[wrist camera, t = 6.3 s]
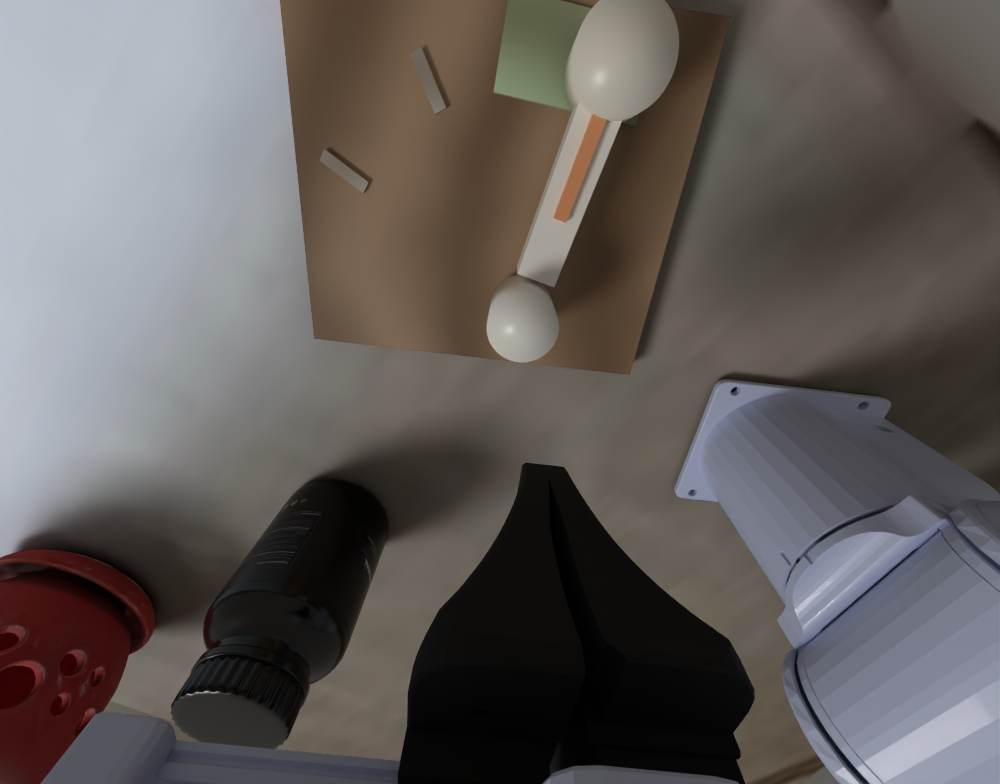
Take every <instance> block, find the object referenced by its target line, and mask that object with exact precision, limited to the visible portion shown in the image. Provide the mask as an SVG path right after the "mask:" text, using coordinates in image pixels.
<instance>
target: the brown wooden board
mask: <svg viewBox="0 0 1000 784" xmlns="http://www.w3.org/2000/svg"><path fill="white" fill-rule="evenodd" d="M598 1H599V0H280V5H281V15H282V25H283V35H284V45H285V55H286V65H287V74H288V84H289V94H290V104H291V114H292V124H293V134H294V143H295V153H296V163H297V173H298V183H299V193H300V202H301V212H302V222H303V232H304V242H305V252H306V262H307V271H308V281H309V291H310V301H311V311H312V321H313V330H314V339H323V340H331V341H340V342H349V343H357V344H366V345H375V346H384V347H392V348H401V349H410V350H418V351H427V352H436V353H444V354H453V355H462V356H471V357H479V358H488V359H497V360H505V361H511V360H508V359H506V358H504V357H502V356H501V355H499V354H498V353H497V352H496V351H495V350H494V348H493V347H492V346H491V344H490V342H489V339H488V336H487V319H488V314H489V309H490V304H491V299H492V295H493V293H494V291H495V289H496V288H497V286H498V285H499V284H500V283H501V282H502V281H504V280H505V279H507V278H509V277H512V276H515V275H519V274H517V264H518V261H519V259H520V256H521V253H522V250H523V247H524V245H525V242H526V239H527V236H528V233H529V231H530V228H531V225H532V222H533V219H534V217H535V214H536V211H537V208H538V205H539V203H540V200H541V197H542V194H543V191H544V189H545V186H546V183H547V180H548V177H549V175H550V172H551V169H552V166H553V163H554V161H555V158H556V155H557V152H558V149H559V147H560V144H561V141H562V138H563V135H564V133H565V130H566V127H567V124H568V121H569V119H570V116H571V113H572V110H571V108H570V106H569V104H568V101H567V98H566V95H565V89H564V71H565V65H566V62H567V58H568V56H569V53H570V51H571V48H572V46H573V44H574V41H575V39H576V36H577V34H578V32H579V29H580V27H581V25H582V23H583V21H584V19H585V17H586V16H587V14H588V13H589V11H590V10H591V9H592V8H593V6H594V5H595V4H596V3H597V2H598ZM671 10H672V12H673V14H674V17H675V19H676V23H677V27H678V33H679V52H678V59H677V63H676V67H675V70H674V73H673V75H672V78H671V80H670V82H669V84H668V85H667V87H666V88H665V90H664V92H663V93H662V94H661V95H660V97H659V98H658V99H657V100H656V101H655V102H654V103H653V104H652V105H651V106H649V107H648V108H647V109H645V110H644V111H642V112H640V113H639V114H637V115H635V116H633V117H632V118H630V119H628V120H626V121H625V122H623V123H621V125H620V127H619V129H618V132H617V134H616V137H615V139H614V142H613V144H612V147H611V149H610V152H609V154H608V156H607V159H606V161H605V164H604V166H603V169H602V171H601V174H600V176H599V179H598V181H597V183H596V186H595V188H594V191H593V193H592V196H591V198H590V201H589V203H588V206H587V208H586V210H585V213H584V215H583V218H582V220H581V223H580V225H579V228H578V230H577V232H576V235H575V237H574V240H573V242H572V245H571V247H570V250H569V252H568V255H567V257H566V259H565V262H564V264H563V267H562V269H561V272H560V274H559V277H558V279H557V282H556V284H555V286H554V287H552V286H549V285H546V284H544V283H543V284H544V285H545V286H546V288H547V289H548V291H549V294H550V296H551V299H552V302H553V305H554V308H555V311H556V314H557V317H558V321H559V333H558V337H557V340H556V342H555V344H554V345H553V347H552V348H551V349H550V351H549V352H548V353H546V354H545V355H544V356H542V357H541V358H539V359H537V360H534V361H530V362H523V363H531V364H540V365H549V366H558V367H566V368H575V369H584V370H592V371H601V372H610V373H618V374H627V375H630V372H631V369H632V365H633V362H634V358H635V355H636V351H637V348H638V344H639V341H640V337H641V334H642V330H643V326H644V323H645V319H646V316H647V312H648V309H649V305H650V302H651V298H652V295H653V291H654V288H655V284H656V281H657V277H658V274H659V270H660V266H661V263H662V259H663V256H664V252H665V249H666V245H667V242H668V238H669V235H670V231H671V228H672V224H673V221H674V217H675V213H676V210H677V206H678V203H679V199H680V196H681V192H682V189H683V185H684V182H685V178H686V175H687V171H688V168H689V164H690V160H691V157H692V153H693V150H694V146H695V143H696V139H697V136H698V132H699V129H700V125H701V122H702V118H703V115H704V111H705V108H706V104H707V100H708V97H709V93H710V90H711V86H712V83H713V79H714V76H715V72H716V69H717V65H718V62H719V58H720V55H721V51H722V47H723V44H724V40H725V37H726V33H727V30H728V26H729V23H730V19H731V17H730V16H723V15H716V14H709V13H701V12H694V11H687V10H680V9H672V8H671Z"/></svg>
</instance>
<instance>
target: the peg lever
mask: <svg viewBox="0 0 1000 784" xmlns="http://www.w3.org/2000/svg"><path fill="white" fill-rule="evenodd" d="M678 52H679V33H678V27H677V23H676V19H675V17H674V14H673V12H672V10H671V8H670V7H669V5H668V4H667V2H666V1H665V0H599V1H598V2H597V3H596V4H595V5H594V6H593V8H592V9H591V10H590V11H589V13H588V14H587V16H586V17H585V19H584V21H583V23H582V25H581V27H580V29H579V32H578V34H577V36H576V39H575V41H574V44H573V46H572V48H571V51H570V53H569V56H568V58H567V62H566V65H565V71H564V89H565V95H566V98H567V101H568V104H569V106H570V108H571V110H572V113H571V116H570V119H569V121H568V124H567V127H566V130H565V133H564V135H563V138H562V141H561V144H560V147H559V149H558V152H557V155H556V158H555V161H554V163H553V166H552V169H551V172H550V175H549V177H548V180H547V183H546V186H545V189H544V191H543V194H542V197H541V200H540V203H539V205H538V208H537V211H536V214H535V217H534V219H533V222H532V225H531V228H530V231H529V233H528V236H527V239H526V242H525V245H524V247H523V250H522V253H521V256H520V259H519V261H518V264H517V274H519V275H515V276H512V277H509V278H507V279H505V280H504V281H502V282H501V283H500V284H499V285H498V286H497V288H496V289H495V291H494V293H493V295H492V299H491V304H490V309H489V314H488V319H487V336H488V339H489V342H490V344H491V346H492V347H493V348H494V350H495V351H496V352H497V353H498V354H499V355H501V356H502V357H504V358H506V359H508V360H511V361H514V362H530V361H534V360H537V359H539V358H541V357H542V356H544V355H545V354H546V353H548V352H549V351H550V349H551V348H552V347H553V345H554V344H555V342H556V340H557V337H558V333H559V321H558V317H557V314H556V311H555V308H554V305H553V302H552V299H551V296H550V294H549V291H548V289H547V288H546V286H545V285H544V284H546V285H549V286H552V287H554V286H555V284H556V282H557V279H558V277H559V274H560V272H561V269H562V267H563V264H564V262H565V259H566V257H567V255H568V252H569V250H570V247H571V245H572V242H573V240H574V237H575V235H576V232H577V230H578V228H579V225H580V223H581V220H582V218H583V215H584V213H585V210H586V208H587V206H588V203H589V201H590V198H591V196H592V193H593V191H594V188H595V186H596V183H597V181H598V179H599V176H600V174H601V171H602V169H603V166H604V164H605V161H606V159H607V156H608V154H609V152H610V149H611V147H612V144H613V142H614V139H615V137H616V134H617V132H618V129H619V127H620V125H621V123H623V122H625V121H626V120H628V119H630V118H632V117H633V116H635V115H637V114H639V113H640V112H642V111H644V110H645V109H647V108H648V107H649V106H651V105H652V104H653V103H654V102H655V101H656V100H657V99H658V98H659V97H660V95H661V94H662V93H663V92H664V90H665V88H666V87H667V85H668V84H669V82H670V80H671V78H672V75H673V73H674V70H675V67H676V63H677V59H678ZM543 283H544V284H543Z"/></svg>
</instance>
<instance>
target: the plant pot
mask: <svg viewBox="0 0 1000 784" xmlns="http://www.w3.org/2000/svg"><path fill="white" fill-rule="evenodd" d="M140 587H141V585H140V584H139V583H138V582H136V581H133V580H132V579H130V578H129V577H128V576H126V575H125V574H123V573H122V572H120V571H118V570H117V569H115V568H113V567H112V566H110V565H108V564H106V563H103V562H101V561H99V560H96V559H93V558H91V557H88V556H84V555H81V554H77V553H72V552H67V551H61V550H50V549H39V550H27V551H20V552H16V553H12V554H9V555H6V556H3V557H1V558H0V784H41V782H42V781H43V780H44V779H45V777H46V776H47V775H48V774H49V772H50V771H51V770H52V768H53V767H54V766H55V765H56V763H57V762H58V761H59V760H60V758H61V757H62V756H63V755H64V753H65V752H66V751H67V750H68V748H69V747H70V746H71V745H72V743H73V742H74V741H75V740H76V738H77V737H78V736H79V735H80V733H81V732H82V731H83V729H84V728H85V727H86V726H87V724H88V723H89V722H90V721H91V719H92V718H93V717H94V716H95V715H96V714H98V713H100V712H103V711H104V709H105V707H106V706H107V704H108V703H109V701H110V700H111V698H112V696H113V695H114V693H115V691H116V689H117V687H118V685H119V682H120V680H121V678H122V675H123V672H124V669H125V666H126V663H127V659H128V656H129V654H132V653H134V652H136V651H138V650H139V649H141V648H142V647H143V646H144V645H145V644H146V643H147V642H148V640H149V639H150V637H151V635H152V633H153V630H154V626H155V613H154V609H153V606H152V604H151V602H150V599H149V598H148V596H147V595H146V593H145V592H144V591H143V590H142V589H141V588H140Z"/></svg>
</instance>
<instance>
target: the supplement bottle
mask: <svg viewBox="0 0 1000 784" xmlns="http://www.w3.org/2000/svg"><path fill="white" fill-rule="evenodd" d="M388 531H389V523H388V518H387V515H386V512H385V510H384V508H383V507H382V505H381V504H380V502H379V501H378V500H377V499H376V498H375V497H374V496H373V495H372V494H371V493H369V492H368V491H366V490H365V489H363V488H361V487H359V486H357V485H355V484H352V483H349V482H345V481H340V480H320V481H315V482H312V483H309V484H307V485H305V486H303V487H301V488H300V489H298V490H297V491H296V492H295V493H294V494H293V495H292V496H291V497H290V499H289V500H288V501H287V502H286V504H285V505H284V506H283V508H282V509H281V510H280V512H279V513H278V514H277V516H276V517H275V518H274V520H273V521H272V523H271V524H270V525H269V527H268V528H267V529H266V531H265V532H264V533H263V535H262V536H261V537H260V539H259V540H258V542H257V543H256V544H255V546H254V547H253V548H252V550H251V551H250V552H249V554H248V555H247V557H246V558H245V559H244V561H243V562H242V563H241V565H240V566H239V567H238V569H237V570H236V571H235V573H234V574H233V576H232V577H231V578H230V580H229V581H228V582H227V584H226V585H225V586H224V588H223V589H222V591H221V592H220V593H219V595H218V596H217V597H216V599H215V601H214V602H213V604H212V605H211V607H210V608H209V610H208V612H207V615H206V617H205V621H204V628H203V637H204V643H205V646H206V649H207V651H206V652H205V653H204V654H203V655H202V656H201V657H200V658H199V660H198V661H197V662H196V664H195V665H194V667H193V669H192V671H191V675H190V676H189V678H188V679H187V681H186V682H185V684H184V685H183V687H182V688H181V690H180V691H179V693H178V694H177V696H176V698H175V700H174V701H173V703H172V705H171V709H172V710H171V712H170V713H171V715H172V716H173V717H172V719H173V720H174V721H175V724H176V725H177V726H178V727H179V728H180V729H181V731H183V732H184V733H186V734H187V735H188V736H189V737H192V738H194V739H196V740H197V741H198V742H205V743H215V744H226V745H237V746H247V747H258V748H268V749H275V748H277V747H278V746H279V745H282V744H283V743H284V741H285V740H287V738H288V736H289V734H290V732H291V730H292V727H293V725H294V723H295V720H296V718H297V715H298V713H299V710H300V708H301V707H302V706H303V704H304V702H305V700H306V697H307V695H308V692H309V688H310V684H313V683H315V682H317V681H319V680H321V679H322V678H324V677H325V676H326V675H328V674H329V673H330V672H331V671H332V670H333V669H334V668H335V667H336V666H337V665H338V664H339V662H340V661H341V659H342V658H343V656H344V653H345V651H346V649H347V647H348V644H349V641H350V639H351V636H352V633H353V630H354V628H355V625H356V622H357V619H358V617H359V614H360V611H361V608H362V606H363V603H364V600H365V597H366V595H367V592H368V589H369V586H370V584H371V581H372V578H373V576H374V573H375V570H376V567H377V565H378V562H379V559H380V556H381V554H382V551H383V548H384V545H385V542H386V539H387V536H388Z"/></svg>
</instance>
